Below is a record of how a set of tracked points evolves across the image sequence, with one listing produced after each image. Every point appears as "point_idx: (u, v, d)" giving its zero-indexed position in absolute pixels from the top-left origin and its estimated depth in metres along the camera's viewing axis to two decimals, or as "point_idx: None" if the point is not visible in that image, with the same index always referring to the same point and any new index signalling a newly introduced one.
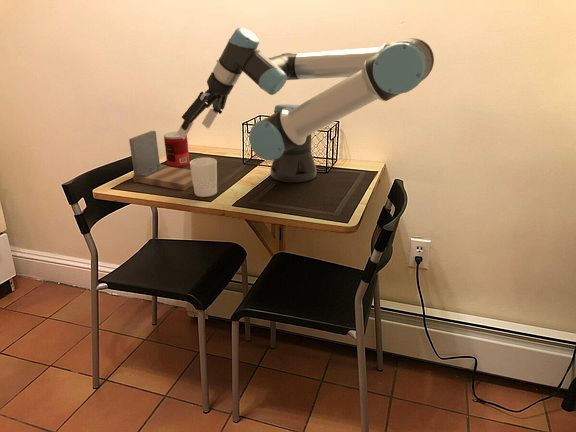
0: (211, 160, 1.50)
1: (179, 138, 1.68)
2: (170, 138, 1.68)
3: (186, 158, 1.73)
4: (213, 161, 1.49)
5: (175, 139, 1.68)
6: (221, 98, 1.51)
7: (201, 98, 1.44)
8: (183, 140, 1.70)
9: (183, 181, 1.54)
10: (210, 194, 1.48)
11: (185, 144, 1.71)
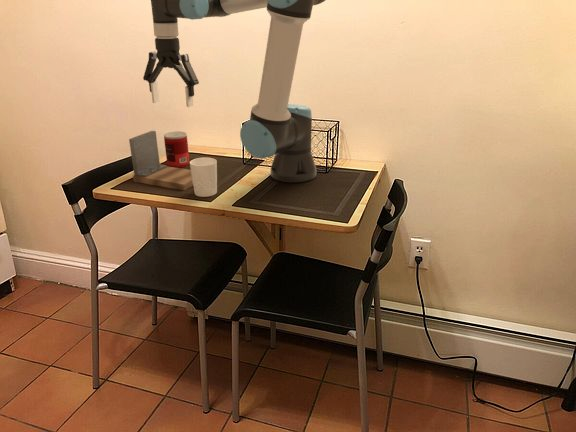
0: (211, 160, 1.50)
1: (179, 138, 1.68)
2: (170, 138, 1.68)
3: (186, 158, 1.73)
4: (213, 161, 1.49)
5: (175, 139, 1.68)
6: (169, 60, 1.58)
7: None
8: (183, 140, 1.70)
9: (183, 181, 1.54)
10: (210, 194, 1.48)
11: (185, 144, 1.71)
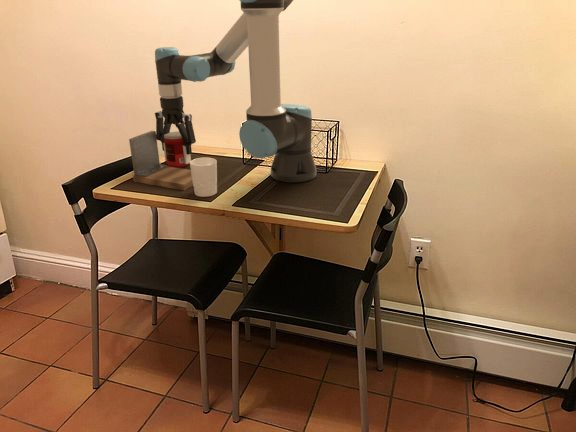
0: (211, 160, 1.50)
1: (179, 138, 1.68)
2: (170, 138, 1.68)
3: None
4: (213, 161, 1.49)
5: (175, 139, 1.68)
6: (174, 118, 1.66)
7: None
8: None
9: (183, 181, 1.54)
10: (210, 194, 1.48)
11: None
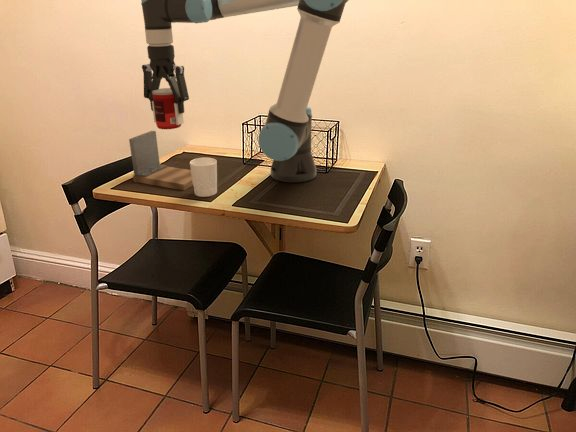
0: (211, 160, 1.50)
1: (169, 94, 1.46)
2: (159, 94, 1.46)
3: None
4: (213, 161, 1.49)
5: (165, 95, 1.46)
6: (163, 70, 1.44)
7: None
8: None
9: (183, 181, 1.54)
10: (210, 194, 1.48)
11: None
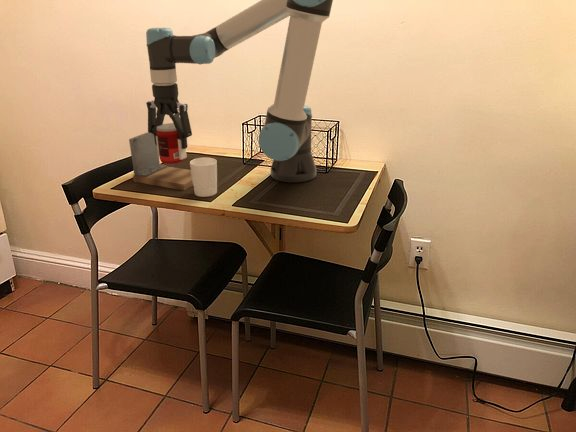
0: (211, 160, 1.50)
1: (173, 130, 1.51)
2: (163, 130, 1.50)
3: None
4: (213, 161, 1.49)
5: (169, 131, 1.50)
6: (167, 108, 1.48)
7: None
8: None
9: (183, 181, 1.54)
10: (210, 194, 1.48)
11: None
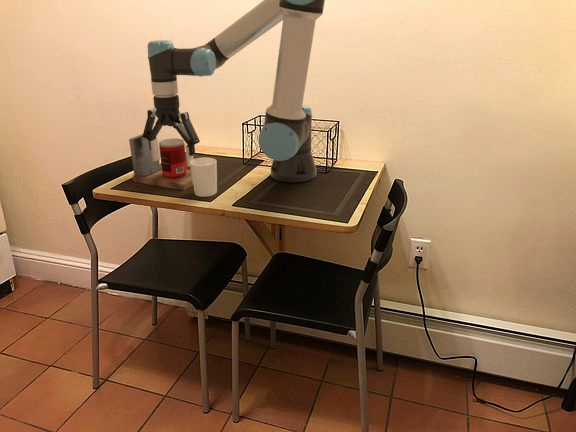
0: (211, 160, 1.50)
1: (176, 146, 1.52)
2: (166, 146, 1.52)
3: (183, 168, 1.57)
4: (213, 161, 1.49)
5: (171, 147, 1.52)
6: (169, 119, 1.50)
7: None
8: (180, 148, 1.54)
9: (183, 181, 1.54)
10: (210, 194, 1.48)
11: (182, 153, 1.55)
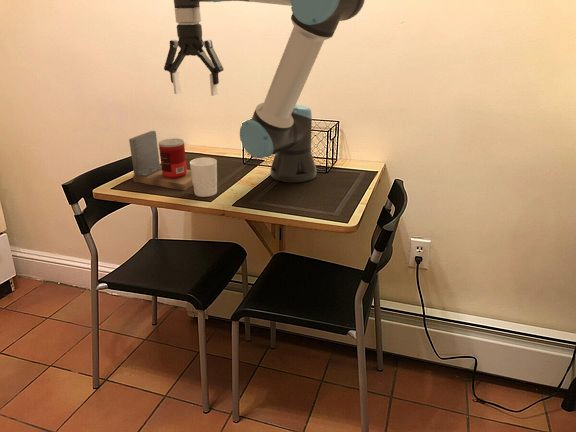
0: (211, 160, 1.50)
1: (175, 146, 1.53)
2: (165, 146, 1.52)
3: (183, 168, 1.57)
4: (213, 161, 1.49)
5: (171, 147, 1.52)
6: (192, 47, 1.52)
7: None
8: (180, 148, 1.54)
9: (183, 181, 1.54)
10: (210, 194, 1.48)
11: (182, 152, 1.55)
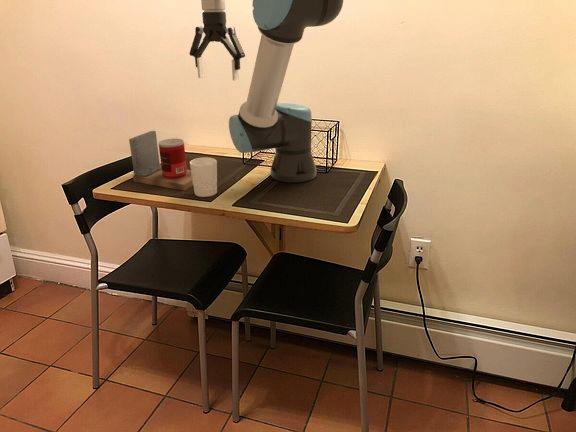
0: (211, 160, 1.50)
1: (175, 146, 1.52)
2: (165, 146, 1.52)
3: (183, 168, 1.57)
4: (213, 161, 1.49)
5: (171, 147, 1.52)
6: (216, 33, 1.60)
7: None
8: (180, 148, 1.54)
9: (183, 181, 1.54)
10: (210, 194, 1.48)
11: (182, 153, 1.55)
